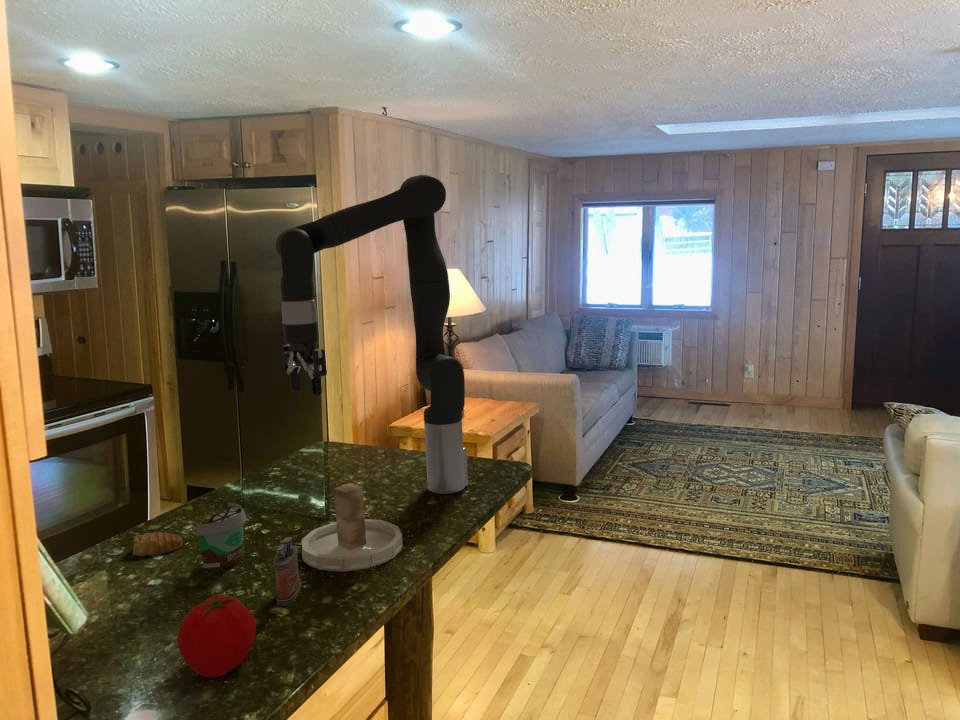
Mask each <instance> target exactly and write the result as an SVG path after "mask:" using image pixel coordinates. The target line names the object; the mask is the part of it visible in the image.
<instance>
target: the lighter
mask: <svg viewBox="0 0 960 720" xmlns="http://www.w3.org/2000/svg"><path fill="white" fill-rule="evenodd" d="M298 551H299V550H298V546H297V545H293V537H291V536H289V537H284V539H281V540H280V541H279V546H278V548H277V549H276V555H275V556H274V558H273V562H272V566H273V568H274V574H275V588H276V605H278V606H287V605H290V604H291V603H292V602H294V601H295V599H296V598H297V597H298V595H299V594H300V591H301V580H300V575H299V573H300V572H299V564H298V563H299V562H298V554H299V553H298Z"/></svg>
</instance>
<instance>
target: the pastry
mask: <svg viewBox="0 0 960 720" xmlns="http://www.w3.org/2000/svg"><path fill="white" fill-rule="evenodd" d="M182 546H183V537H182V536H181V535H178V534H176V533H175V534H174V533H167V532H157V531H154V532H145V533H143V534H136V535H135V536H134V539H133V547H132V548H133V551H132V555H134V556H136V557H139V558H142V557H143V558H144V557H146V556H151V557H152V556H157V555H162V553H163V554H166V552H167V553H171V552H173V551H176V550H178V549H180V548H181V547H182ZM170 551H171V552H170Z"/></svg>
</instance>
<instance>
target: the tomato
mask: <svg viewBox="0 0 960 720" xmlns="http://www.w3.org/2000/svg"><path fill="white" fill-rule="evenodd" d="M239 599H240V598H237V597H235V596H231V595H224V594H221V593H219V594H218V593H217V594H215V595H214V594H213V595H211V596H210V597H209V598H208V599H207V600H206V601H205V602H200V603H199V604H196V605H195V606H193V607H191V609H190V610H189V611H188V613H186V615H185V616H184V618H183V620H182V622H181V624H180V626H179V628H178V629H179V630H178V633H177V638H176V639H177V647H178V650H179V653H180V655H181V656H182V658H183V661H184V663H186V664H187V666H188V667H190V669H192V671H194V672H195V673H197V674H198V675H200V677H203V678H204V677H205V678H219V677H222V676H225V675H227V674H228V673H230V672H231V671H233V670H234V669H235V668H237V667H239V666H240V665H241V664H242V662H243V661H244V659H246V657H247V656H248V655H249V653H250V651H251V650H252V649H251V648H252V646H253V644H254V641H255V638H256V634H257V620H256V618H255V617H254V615H253V613H252V612H251V610H250V609H248V608H247V607H245V606H244V604H243V603H242V602H241V601H240V600H239Z"/></svg>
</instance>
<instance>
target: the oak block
mask: <svg viewBox="0 0 960 720" xmlns="http://www.w3.org/2000/svg"><path fill="white" fill-rule="evenodd" d="M333 491H334V492H333V494H334V495H333V496H334V504H335V505H334V506H335V518H336V519H335V520H336V521H335V522H337V534H338V545H339V546H342V547H344V548H346V549H348V550H352V549H355V548H357V547H360V546H362V545H365V544H366V532H365V519H366V518H365V517H366V516H365V505H364V491H363V486H361V485H357V484H355V483H352V482H349V483H347V484H343V485H340V486H337V487H334V488H333Z"/></svg>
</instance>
